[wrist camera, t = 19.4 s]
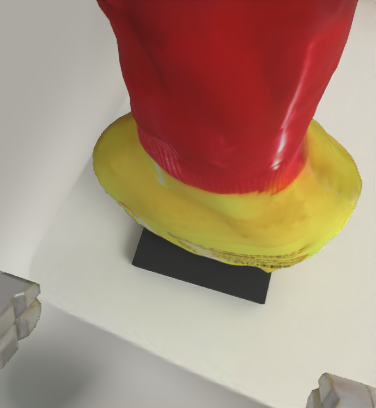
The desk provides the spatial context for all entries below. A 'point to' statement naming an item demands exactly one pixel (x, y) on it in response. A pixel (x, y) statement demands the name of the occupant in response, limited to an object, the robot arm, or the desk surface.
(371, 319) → the desk surface
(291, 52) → the bottle
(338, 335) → the desk surface
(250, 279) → the mat
